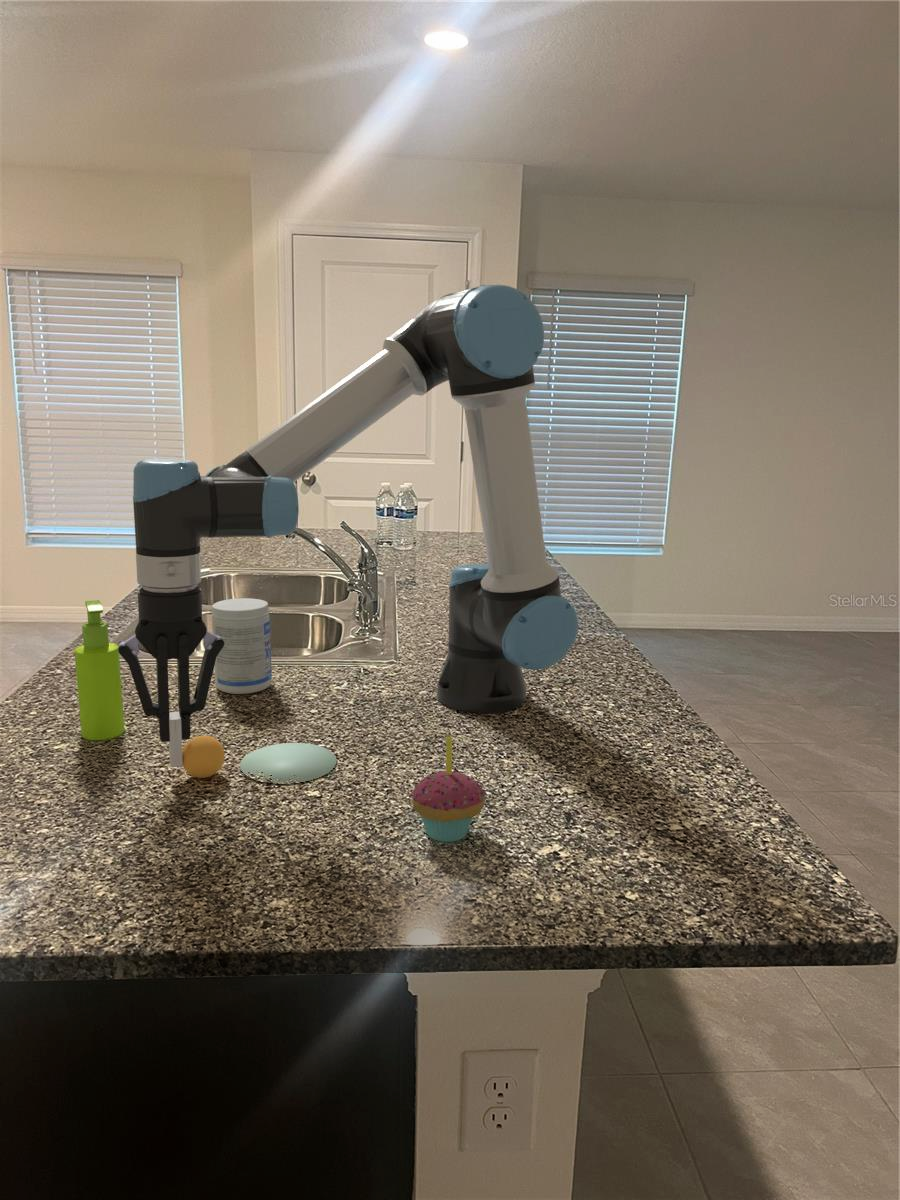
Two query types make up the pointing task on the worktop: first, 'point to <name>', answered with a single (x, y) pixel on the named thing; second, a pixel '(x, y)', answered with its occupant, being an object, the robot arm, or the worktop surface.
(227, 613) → the supplement tub
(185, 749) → the ball
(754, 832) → the worktop surface
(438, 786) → the cupcake
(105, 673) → the soap dispenser
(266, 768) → the smooth pale green disc
